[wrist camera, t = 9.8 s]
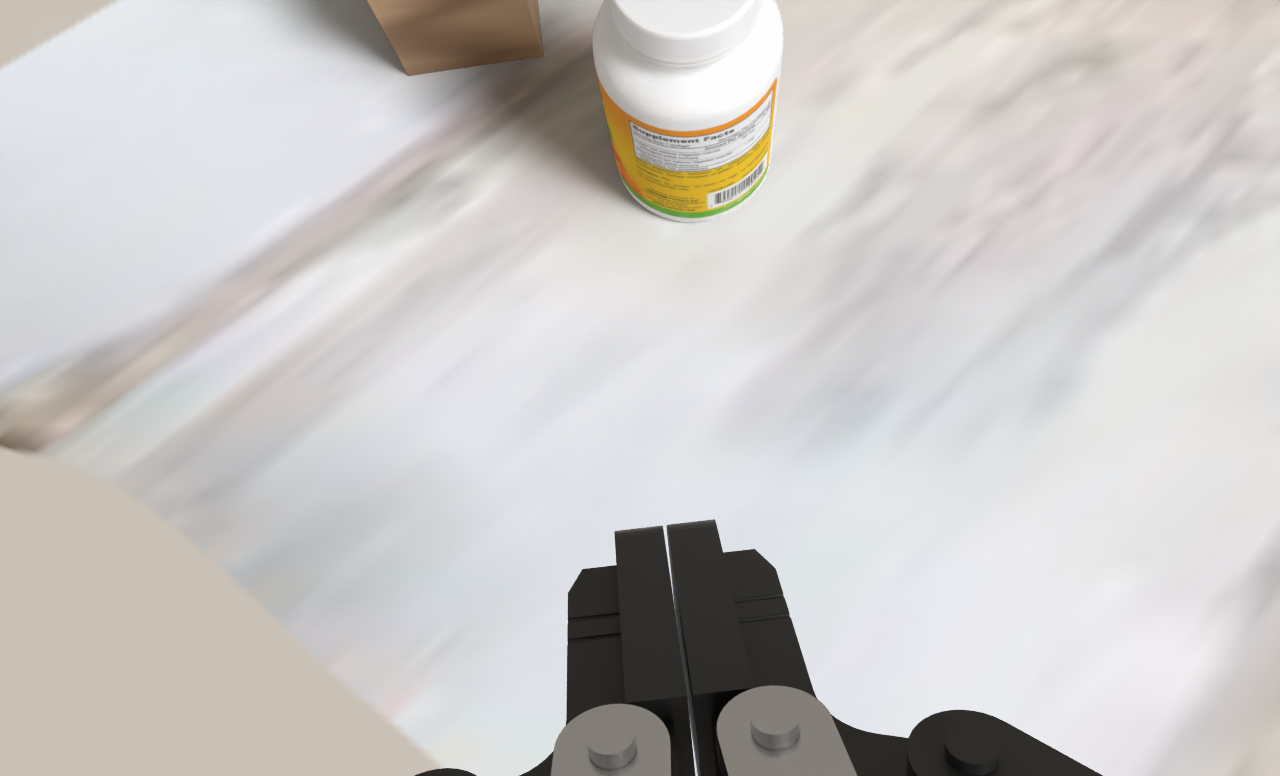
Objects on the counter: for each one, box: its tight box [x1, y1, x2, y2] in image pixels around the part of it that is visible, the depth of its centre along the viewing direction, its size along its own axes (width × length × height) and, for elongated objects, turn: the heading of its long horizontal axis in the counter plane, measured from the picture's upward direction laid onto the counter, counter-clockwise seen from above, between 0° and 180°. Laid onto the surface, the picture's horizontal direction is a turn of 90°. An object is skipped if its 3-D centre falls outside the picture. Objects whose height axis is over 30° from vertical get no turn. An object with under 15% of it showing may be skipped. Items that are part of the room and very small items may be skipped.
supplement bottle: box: [593, 0, 783, 222], centre depth 29 cm, size 5×5×10 cm
